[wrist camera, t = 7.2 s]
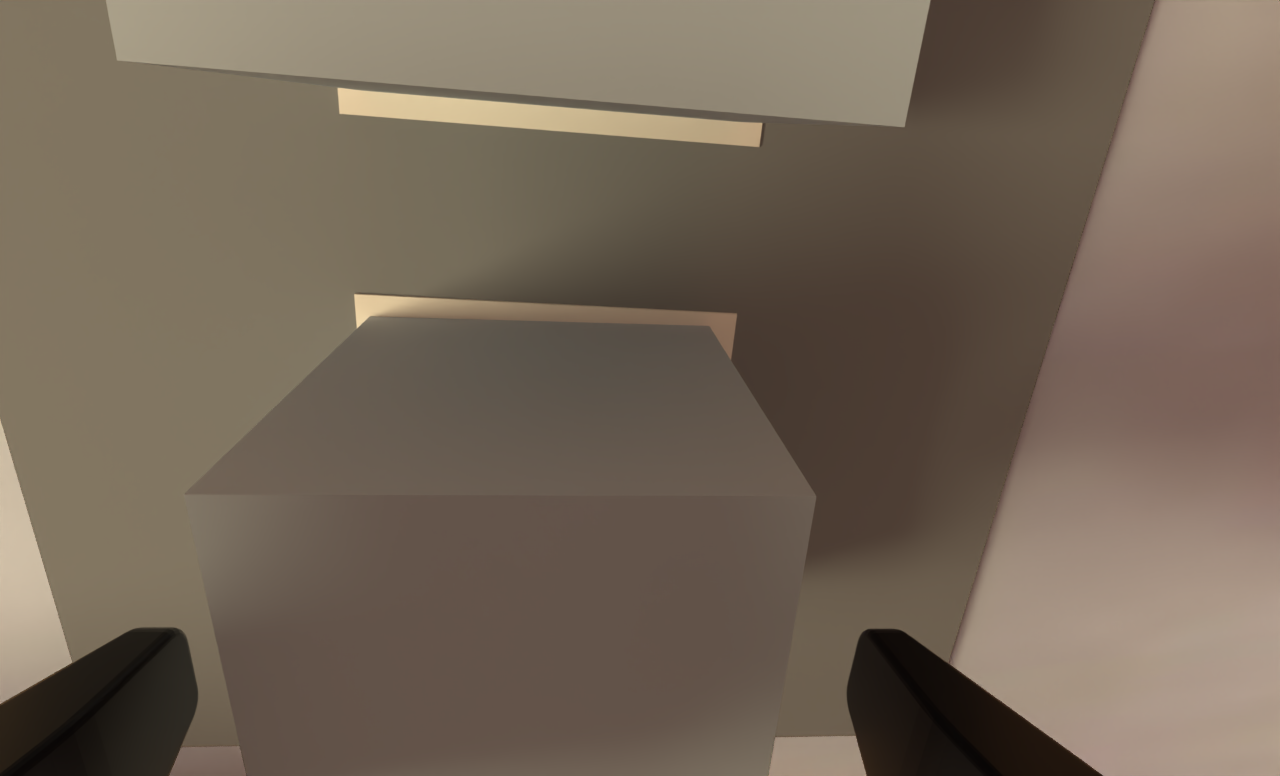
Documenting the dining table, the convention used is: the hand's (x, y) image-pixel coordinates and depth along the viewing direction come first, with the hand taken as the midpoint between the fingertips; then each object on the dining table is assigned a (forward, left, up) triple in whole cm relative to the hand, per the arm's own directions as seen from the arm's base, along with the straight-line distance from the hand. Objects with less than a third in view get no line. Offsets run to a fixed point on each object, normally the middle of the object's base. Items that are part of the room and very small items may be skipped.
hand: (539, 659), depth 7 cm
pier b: (0, 0, -4) cm, 4 cm away
